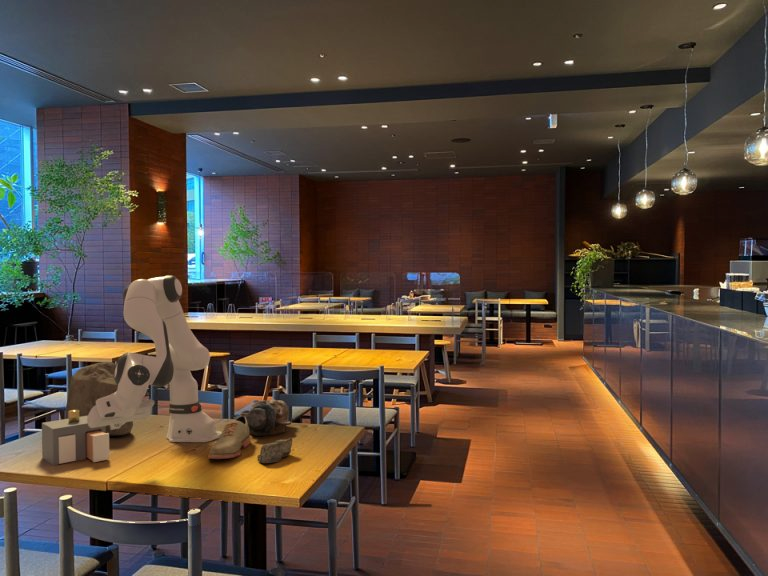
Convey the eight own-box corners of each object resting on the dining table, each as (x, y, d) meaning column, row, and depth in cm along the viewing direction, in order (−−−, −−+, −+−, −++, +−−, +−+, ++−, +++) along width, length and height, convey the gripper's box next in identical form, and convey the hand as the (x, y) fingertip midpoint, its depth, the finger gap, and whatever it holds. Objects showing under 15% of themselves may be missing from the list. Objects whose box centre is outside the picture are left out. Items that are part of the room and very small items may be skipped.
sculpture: (291, 439, 245) (291, 405, 245) (238, 442, 241) (238, 407, 241) (289, 424, 270) (289, 393, 270) (241, 426, 266) (240, 395, 266)
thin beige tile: (75, 460, 216) (75, 434, 216) (59, 463, 212) (59, 437, 212) (64, 453, 225) (64, 428, 225) (48, 456, 221) (48, 431, 221)
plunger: (109, 459, 218) (109, 433, 217) (93, 462, 214) (93, 436, 214) (96, 452, 226) (96, 427, 226) (81, 455, 223) (81, 430, 222)
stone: (89, 422, 276) (88, 357, 275) (157, 425, 269) (157, 359, 269) (49, 436, 251) (48, 365, 251) (123, 440, 245) (122, 367, 244)
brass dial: (81, 420, 224) (81, 410, 223) (74, 423, 220) (74, 412, 220) (73, 420, 224) (73, 409, 224) (66, 422, 221) (66, 411, 221)
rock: (273, 439, 228) (295, 434, 225) (277, 457, 227) (300, 452, 224) (248, 450, 212) (272, 445, 208) (252, 469, 211) (276, 464, 208)
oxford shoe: (200, 466, 211) (200, 433, 211) (225, 441, 242) (224, 412, 242) (232, 466, 211) (232, 433, 211) (252, 441, 242) (252, 412, 242)
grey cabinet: (106, 454, 224) (105, 420, 224) (53, 465, 212) (52, 429, 211) (93, 447, 233) (93, 414, 233) (42, 457, 221) (41, 422, 221)
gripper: (153, 391, 208) (141, 415, 215) (91, 400, 194) (81, 425, 201) (158, 406, 205) (147, 429, 212) (96, 416, 191) (86, 440, 198)
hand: (114, 427), depth 206 cm, fingers closed
